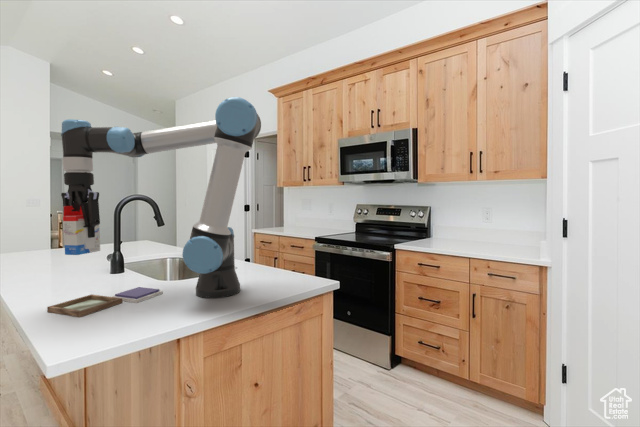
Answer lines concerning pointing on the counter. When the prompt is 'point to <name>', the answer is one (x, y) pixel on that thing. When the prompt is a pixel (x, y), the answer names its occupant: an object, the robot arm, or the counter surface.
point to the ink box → (77, 233)
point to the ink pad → (138, 294)
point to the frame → (84, 305)
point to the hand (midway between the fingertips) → (82, 247)
